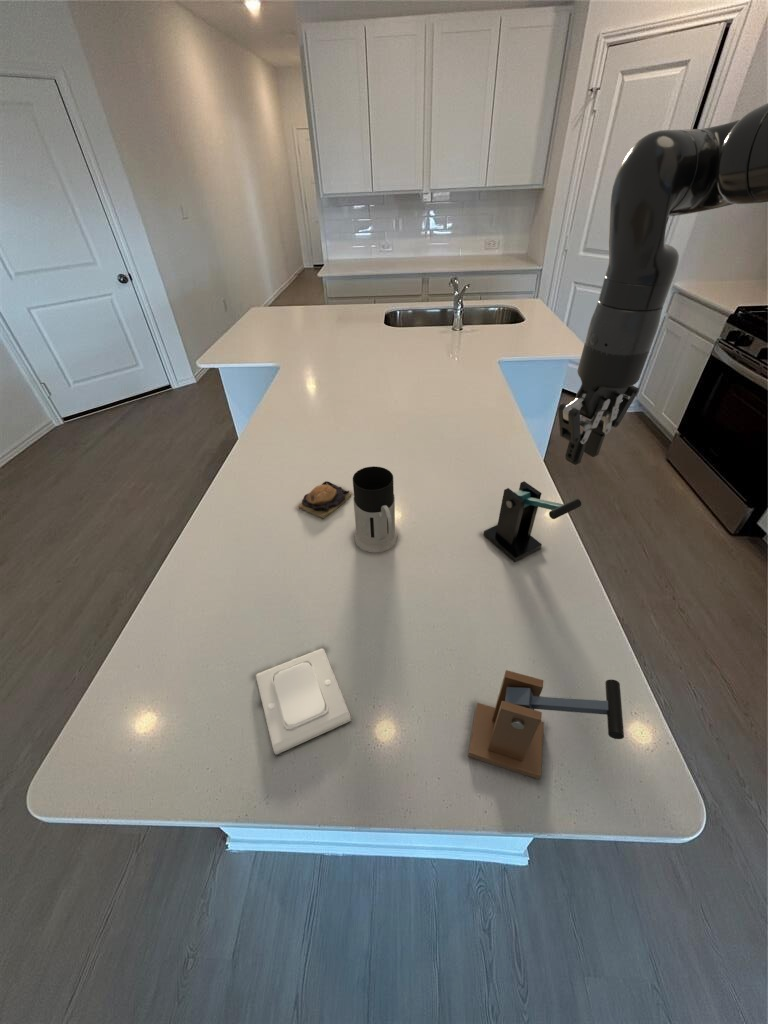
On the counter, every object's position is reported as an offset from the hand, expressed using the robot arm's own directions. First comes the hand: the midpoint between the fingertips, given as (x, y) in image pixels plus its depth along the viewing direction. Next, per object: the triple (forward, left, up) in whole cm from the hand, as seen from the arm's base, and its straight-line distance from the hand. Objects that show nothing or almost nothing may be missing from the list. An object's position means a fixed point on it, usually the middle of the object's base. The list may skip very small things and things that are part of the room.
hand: (581, 457), depth 66 cm
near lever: (-7, +32, -13) cm, 36 cm away
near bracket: (-2, +33, -25) cm, 42 cm away
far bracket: (+8, -5, -25) cm, 27 cm away
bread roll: (+49, +1, -25) cm, 55 cm away
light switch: (+26, +41, -25) cm, 55 cm away
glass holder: (+31, +8, -25) cm, 41 cm away
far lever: (+4, -2, -13) cm, 14 cm away
